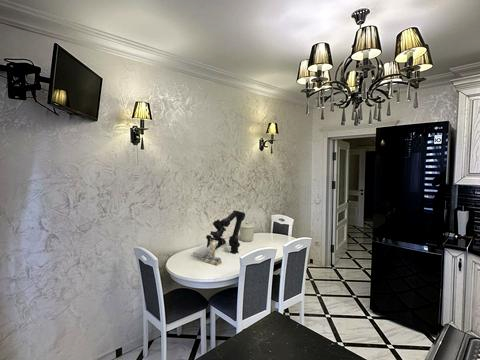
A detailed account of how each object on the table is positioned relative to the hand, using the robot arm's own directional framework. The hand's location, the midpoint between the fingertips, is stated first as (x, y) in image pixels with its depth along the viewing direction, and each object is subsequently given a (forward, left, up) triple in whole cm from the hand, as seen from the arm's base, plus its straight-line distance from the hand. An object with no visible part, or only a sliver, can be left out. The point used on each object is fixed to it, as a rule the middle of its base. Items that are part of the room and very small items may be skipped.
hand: (211, 248), depth 219 cm
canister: (-68, -30, -13) cm, 76 cm away
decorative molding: (-13, -29, -13) cm, 34 cm away
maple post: (-1, 0, -7) cm, 8 cm away
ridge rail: (-1, 0, -13) cm, 13 cm away
